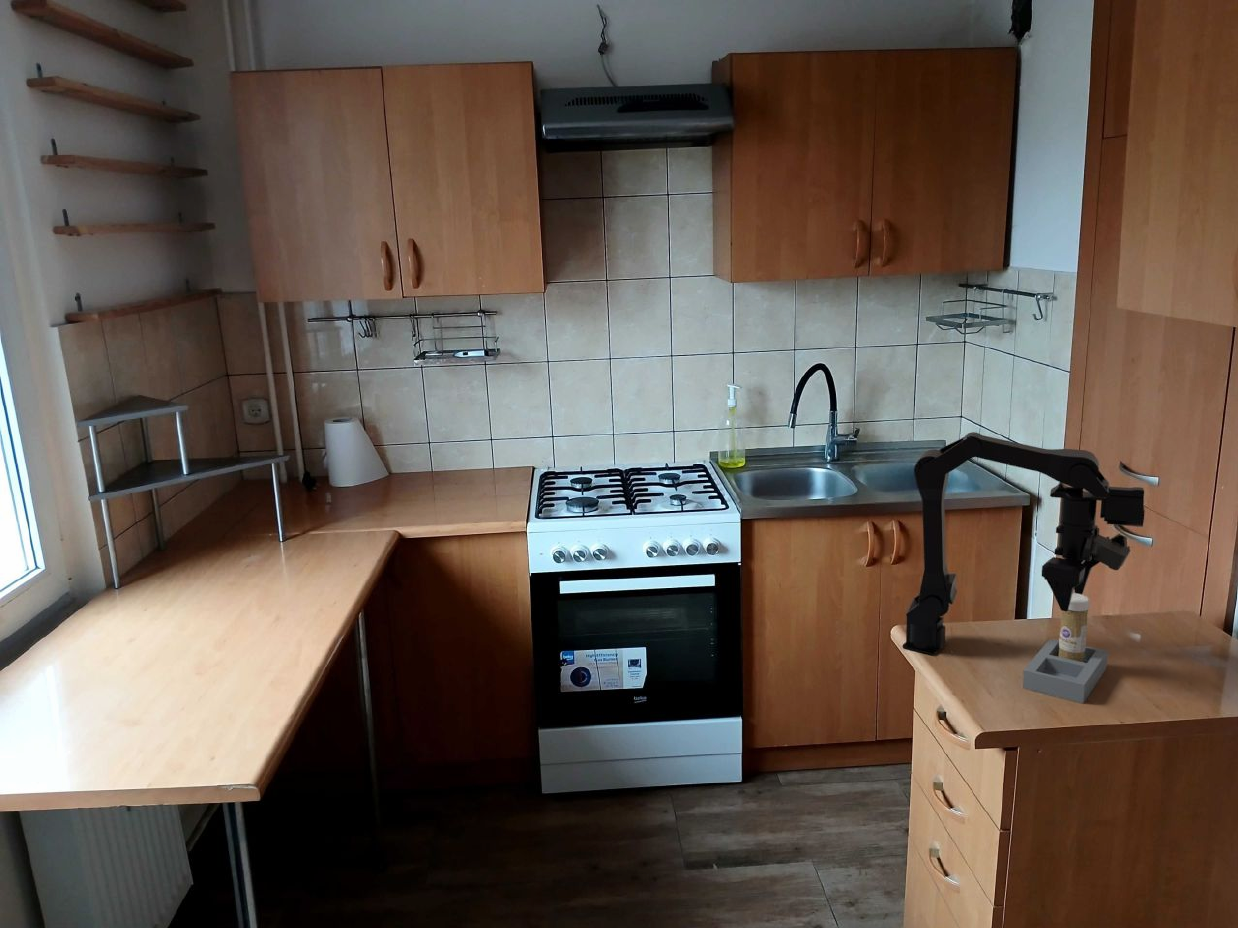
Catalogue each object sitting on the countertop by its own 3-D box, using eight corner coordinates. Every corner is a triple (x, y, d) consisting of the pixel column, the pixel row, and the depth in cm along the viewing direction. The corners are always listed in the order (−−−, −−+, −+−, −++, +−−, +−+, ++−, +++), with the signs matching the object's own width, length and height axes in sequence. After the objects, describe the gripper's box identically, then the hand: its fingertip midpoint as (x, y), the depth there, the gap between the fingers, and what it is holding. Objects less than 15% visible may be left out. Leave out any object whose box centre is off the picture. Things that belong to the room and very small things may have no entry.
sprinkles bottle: (1053, 665, 171) (1057, 597, 168) (1064, 656, 174) (1068, 590, 171) (1078, 672, 167) (1083, 603, 164) (1089, 664, 170) (1094, 596, 167)
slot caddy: (1022, 687, 165) (1023, 670, 164) (1049, 655, 177) (1050, 638, 176) (1083, 703, 159) (1084, 684, 158) (1106, 668, 171) (1107, 650, 170)
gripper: (1113, 543, 153) (1106, 630, 157) (1139, 514, 167) (1133, 595, 171) (1043, 532, 160) (1038, 615, 164) (1073, 506, 174) (1068, 583, 178)
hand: (1071, 602), depth 169 cm, fingers open, 9 cm apart
